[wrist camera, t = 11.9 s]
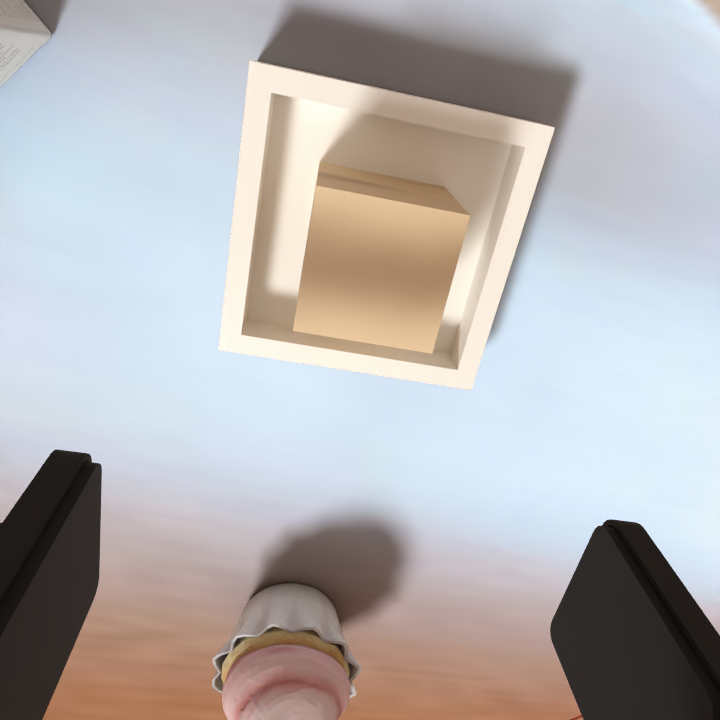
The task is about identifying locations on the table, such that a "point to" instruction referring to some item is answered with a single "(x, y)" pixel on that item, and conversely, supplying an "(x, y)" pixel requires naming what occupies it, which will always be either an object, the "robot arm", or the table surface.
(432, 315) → the cube
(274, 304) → the tray
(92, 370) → the table surface
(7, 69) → the small box
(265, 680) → the cupcake
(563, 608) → the robot arm
